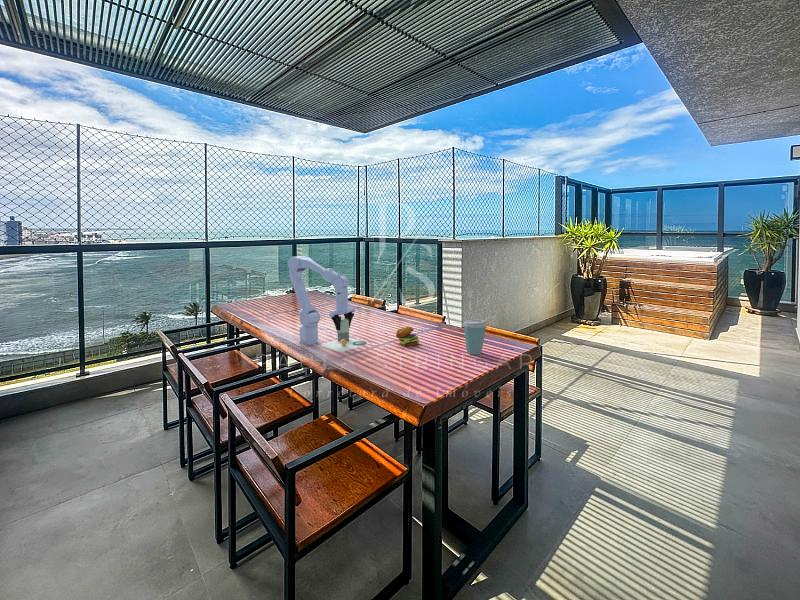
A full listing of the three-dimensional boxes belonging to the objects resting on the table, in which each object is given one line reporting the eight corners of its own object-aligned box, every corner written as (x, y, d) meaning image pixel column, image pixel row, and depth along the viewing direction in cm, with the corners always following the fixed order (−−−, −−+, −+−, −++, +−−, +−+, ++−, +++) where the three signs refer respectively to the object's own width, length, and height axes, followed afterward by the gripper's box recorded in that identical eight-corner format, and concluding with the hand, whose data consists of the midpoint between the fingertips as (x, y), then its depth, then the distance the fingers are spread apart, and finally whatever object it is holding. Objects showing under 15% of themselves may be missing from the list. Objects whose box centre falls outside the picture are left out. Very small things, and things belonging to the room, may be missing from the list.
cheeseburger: (418, 347, 181) (413, 327, 179) (397, 351, 183) (392, 332, 182) (421, 341, 190) (416, 322, 189) (401, 345, 193) (396, 326, 192)
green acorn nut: (334, 331, 183) (334, 319, 182) (343, 329, 187) (343, 317, 186) (342, 333, 179) (342, 321, 178) (351, 331, 183) (351, 319, 182)
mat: (317, 346, 185) (317, 345, 185) (346, 338, 199) (346, 337, 199) (342, 353, 173) (342, 352, 173) (371, 344, 187) (371, 343, 187)
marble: (339, 345, 184) (339, 339, 184) (344, 343, 186) (343, 338, 186) (343, 346, 182) (343, 340, 182) (348, 345, 184) (347, 339, 184)
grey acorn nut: (335, 340, 193) (335, 329, 192) (344, 338, 197) (343, 326, 196) (343, 342, 189) (342, 330, 188) (351, 339, 194) (350, 328, 193)
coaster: (349, 343, 187) (349, 343, 187) (360, 340, 192) (360, 340, 192) (359, 346, 182) (359, 345, 182) (369, 343, 187) (369, 342, 187)
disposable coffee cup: (459, 354, 169) (460, 322, 166) (465, 348, 179) (465, 317, 176) (483, 357, 165) (484, 323, 162) (487, 350, 175) (488, 318, 172)
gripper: (335, 304, 173) (336, 333, 175) (358, 300, 184) (359, 327, 186) (326, 302, 177) (327, 330, 179) (349, 298, 188) (350, 325, 190)
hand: (343, 328), depth 183 cm, fingers closed on green acorn nut, 6 cm apart
